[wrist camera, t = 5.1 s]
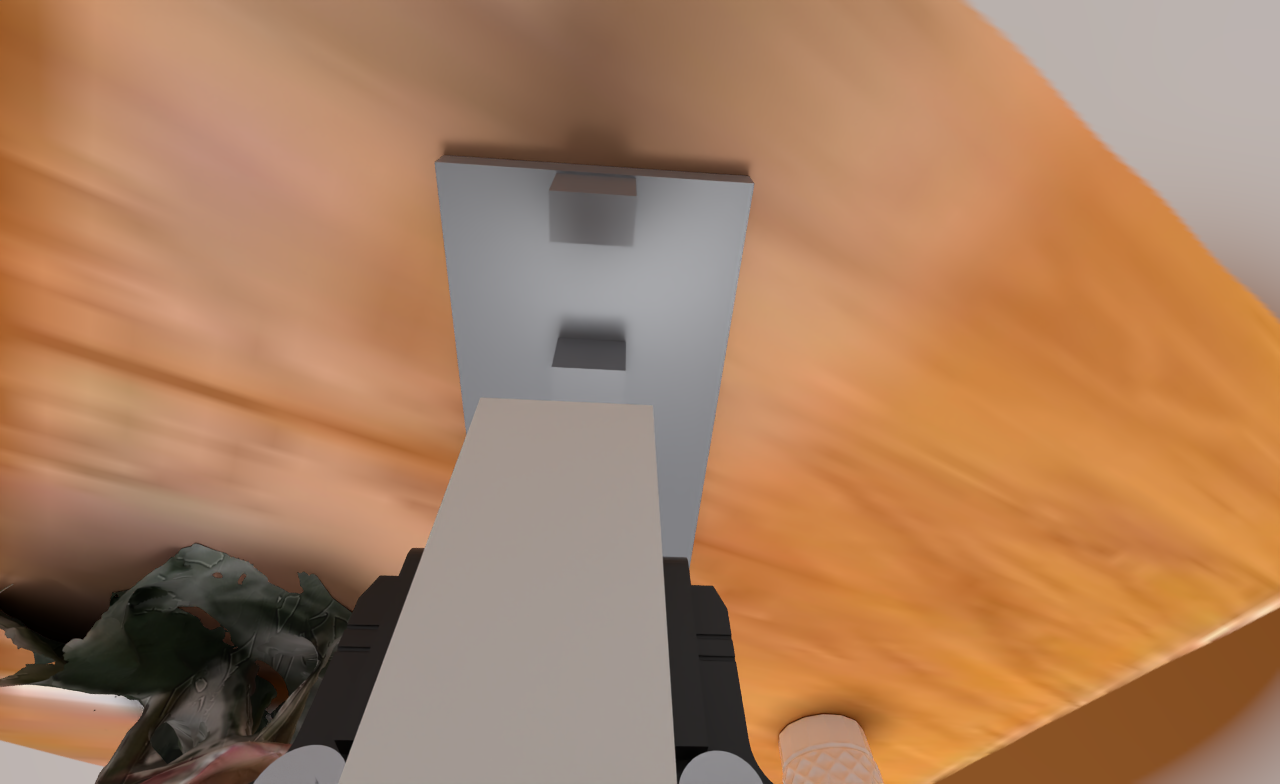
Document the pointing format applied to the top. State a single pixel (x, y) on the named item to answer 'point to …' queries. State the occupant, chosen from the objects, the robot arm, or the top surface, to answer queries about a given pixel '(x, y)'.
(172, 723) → the rose bouquet
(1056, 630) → the top surface
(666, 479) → the mounting plate with blocks
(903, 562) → the top surface
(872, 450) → the top surface
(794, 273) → the top surface
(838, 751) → the white cup
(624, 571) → the plug
